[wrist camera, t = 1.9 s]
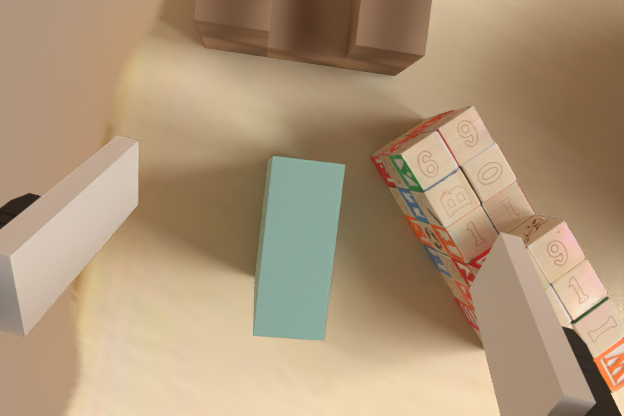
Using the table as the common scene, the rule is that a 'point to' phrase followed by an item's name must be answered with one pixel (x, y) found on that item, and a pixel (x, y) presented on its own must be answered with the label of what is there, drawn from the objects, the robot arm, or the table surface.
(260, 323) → the rectangular block
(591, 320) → the stack of blocks
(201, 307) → the table surface
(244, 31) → the staggered wooden block
